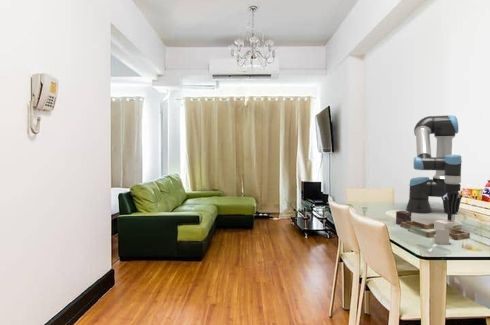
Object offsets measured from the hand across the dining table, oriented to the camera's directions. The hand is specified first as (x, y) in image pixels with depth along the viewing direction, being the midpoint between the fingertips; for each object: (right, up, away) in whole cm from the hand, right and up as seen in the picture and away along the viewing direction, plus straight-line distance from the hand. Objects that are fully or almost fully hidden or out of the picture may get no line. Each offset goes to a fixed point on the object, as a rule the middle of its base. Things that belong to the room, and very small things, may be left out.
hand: (450, 225), depth 172 cm
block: (-5, -2, -2) cm, 6 cm away
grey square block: (-19, -5, -22) cm, 30 cm away
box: (-20, -2, +12) cm, 23 cm away
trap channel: (-11, -2, -4) cm, 12 cm away
